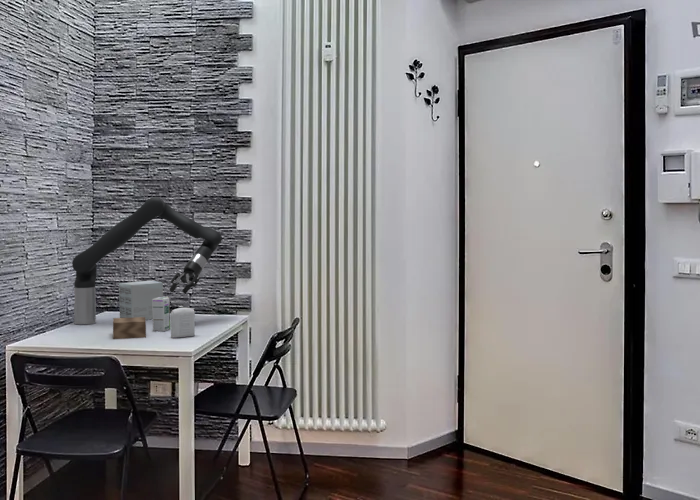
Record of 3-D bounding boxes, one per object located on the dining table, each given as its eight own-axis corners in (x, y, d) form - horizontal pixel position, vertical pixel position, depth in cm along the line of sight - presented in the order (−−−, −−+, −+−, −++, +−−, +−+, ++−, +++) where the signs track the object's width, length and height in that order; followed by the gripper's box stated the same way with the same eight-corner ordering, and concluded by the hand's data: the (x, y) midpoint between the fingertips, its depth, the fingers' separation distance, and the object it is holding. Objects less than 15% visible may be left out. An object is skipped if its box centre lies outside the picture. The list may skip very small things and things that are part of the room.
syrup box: (164, 331, 299) (164, 298, 298) (152, 330, 300) (151, 298, 300) (170, 329, 305) (170, 297, 304) (158, 328, 306) (158, 296, 305)
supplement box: (150, 315, 345) (150, 280, 344) (164, 318, 336) (163, 282, 335) (118, 319, 333) (118, 282, 332) (131, 322, 324) (131, 284, 323)
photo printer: (192, 334, 291) (192, 306, 291) (196, 336, 288) (196, 307, 287) (169, 337, 285) (169, 308, 285) (173, 338, 282) (172, 309, 281)
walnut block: (113, 339, 280) (112, 322, 280) (113, 334, 293) (113, 318, 292) (145, 338, 284) (145, 321, 284) (145, 332, 297) (144, 316, 296)
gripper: (180, 259, 320) (162, 285, 311) (202, 260, 312) (183, 287, 303) (189, 269, 325) (170, 295, 316) (210, 271, 317) (192, 298, 308)
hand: (177, 291), depth 310 cm, fingers open, 8 cm apart
